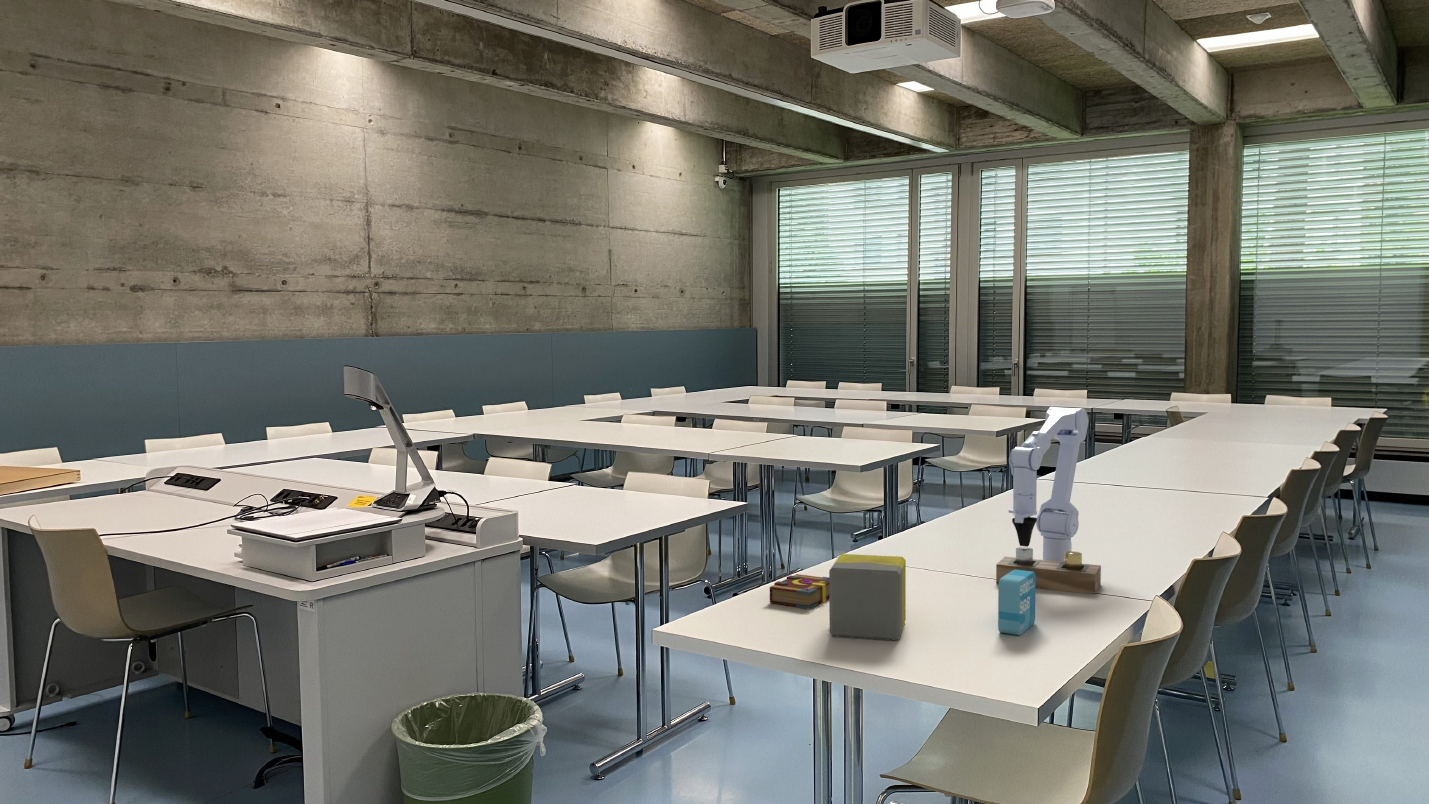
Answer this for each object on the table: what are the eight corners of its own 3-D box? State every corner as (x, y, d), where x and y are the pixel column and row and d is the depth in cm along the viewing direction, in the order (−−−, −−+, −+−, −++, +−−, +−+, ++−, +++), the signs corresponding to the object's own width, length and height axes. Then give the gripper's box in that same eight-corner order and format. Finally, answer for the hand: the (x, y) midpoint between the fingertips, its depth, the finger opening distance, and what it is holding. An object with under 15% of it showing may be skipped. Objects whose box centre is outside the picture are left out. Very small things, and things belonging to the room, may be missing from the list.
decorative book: (768, 604, 244) (768, 584, 243) (798, 589, 257) (798, 570, 257) (810, 610, 238) (810, 590, 237) (839, 595, 252) (838, 575, 251)
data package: (1018, 637, 215) (1019, 581, 214) (997, 634, 217) (998, 579, 216) (1035, 623, 224) (1036, 570, 224) (1015, 620, 227) (1015, 567, 226)
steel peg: (1017, 563, 263) (1017, 546, 263) (1034, 565, 261) (1034, 547, 261) (1014, 566, 260) (1014, 549, 259) (1030, 568, 258) (1031, 551, 257)
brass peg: (1065, 568, 258) (1065, 550, 257) (1082, 569, 256) (1083, 552, 255) (1062, 571, 254) (1062, 554, 254) (1080, 573, 252) (1080, 555, 252)
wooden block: (1004, 574, 268) (1005, 556, 268) (1100, 584, 257) (1100, 565, 256) (996, 583, 259) (996, 564, 259) (1094, 594, 248) (1095, 573, 248)
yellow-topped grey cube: (909, 610, 236) (909, 547, 235) (899, 641, 213) (899, 571, 212) (845, 606, 240) (845, 544, 239) (829, 637, 217) (828, 568, 216)
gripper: (1015, 488, 267) (1014, 539, 268) (1002, 496, 255) (1002, 549, 256) (1042, 490, 264) (1042, 541, 265) (1031, 498, 251) (1030, 552, 252)
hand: (1024, 545), depth 260 cm, fingers closed
